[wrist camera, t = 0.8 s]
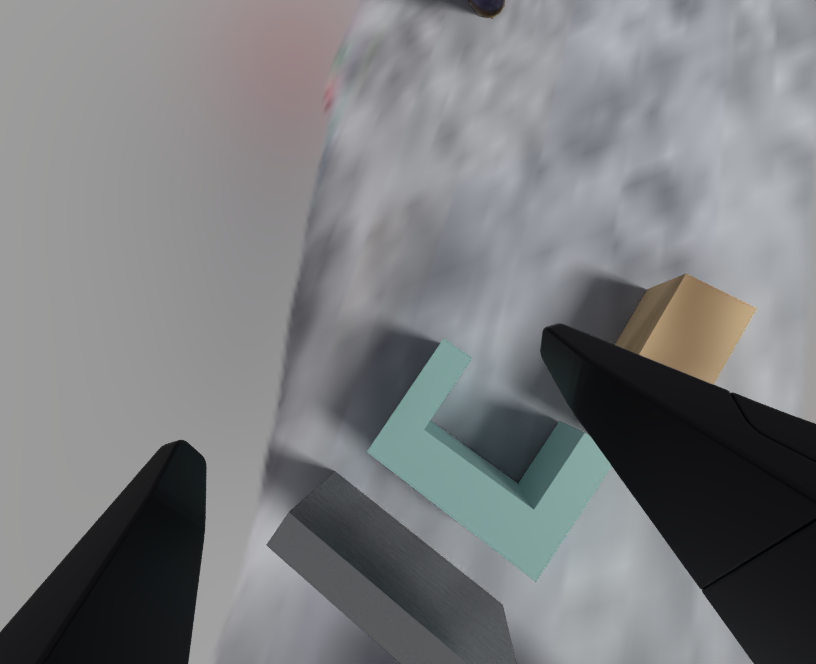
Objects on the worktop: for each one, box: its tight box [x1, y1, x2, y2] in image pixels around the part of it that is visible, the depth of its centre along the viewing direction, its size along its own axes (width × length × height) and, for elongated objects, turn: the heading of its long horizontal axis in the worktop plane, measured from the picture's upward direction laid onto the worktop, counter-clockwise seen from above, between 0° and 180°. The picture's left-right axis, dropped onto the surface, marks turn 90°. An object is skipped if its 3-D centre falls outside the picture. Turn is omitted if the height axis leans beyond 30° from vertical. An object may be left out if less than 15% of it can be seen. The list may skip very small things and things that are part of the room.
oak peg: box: [574, 274, 757, 415], centre depth 21 cm, size 4×10×4 cm, turn 149°
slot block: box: [367, 339, 611, 582], centre depth 21 cm, size 11×8×4 cm
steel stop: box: [267, 472, 516, 664], centre depth 19 cm, size 14×4×7 cm, turn 56°
